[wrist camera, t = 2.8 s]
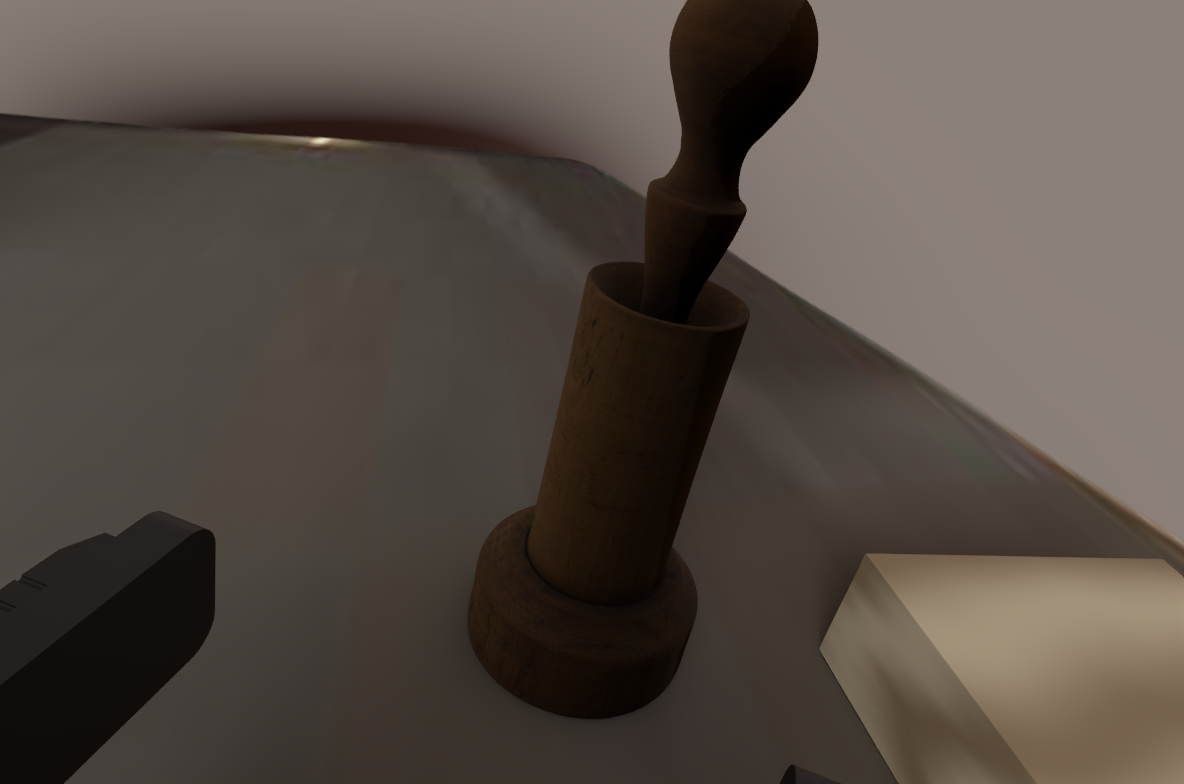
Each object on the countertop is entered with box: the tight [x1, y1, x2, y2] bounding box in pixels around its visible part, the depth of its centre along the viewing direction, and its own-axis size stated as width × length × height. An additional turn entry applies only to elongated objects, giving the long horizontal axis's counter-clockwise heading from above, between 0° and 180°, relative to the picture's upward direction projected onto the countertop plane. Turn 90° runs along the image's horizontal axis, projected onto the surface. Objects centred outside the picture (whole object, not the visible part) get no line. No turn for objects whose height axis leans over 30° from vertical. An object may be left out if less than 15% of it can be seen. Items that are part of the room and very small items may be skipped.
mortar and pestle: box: [468, 0, 818, 719], centre depth 21 cm, size 7×6×18 cm
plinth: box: [819, 553, 1184, 784], centre depth 23 cm, size 12×12×4 cm
